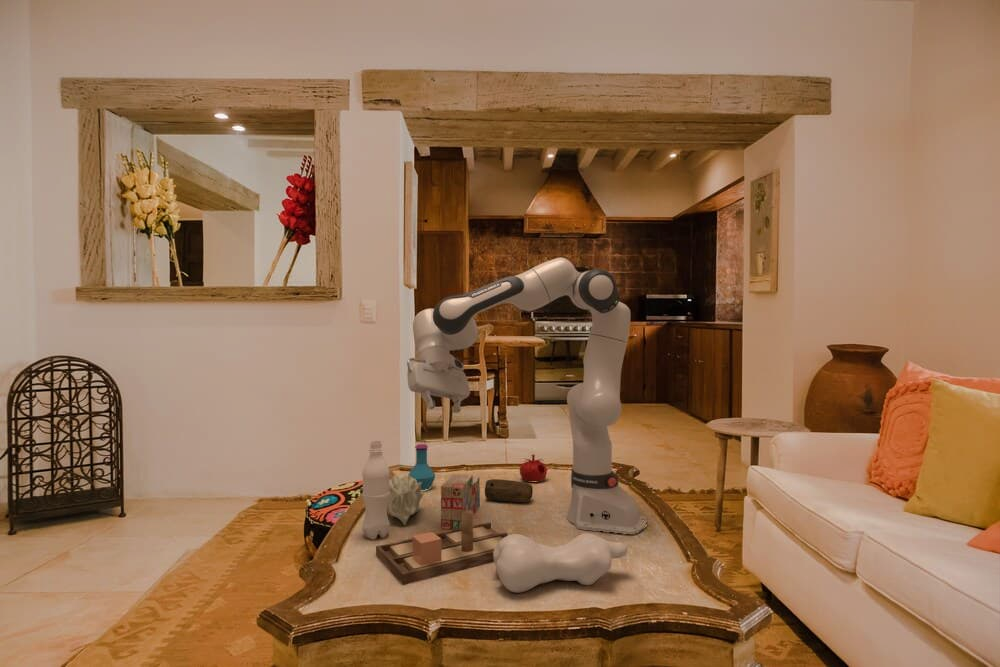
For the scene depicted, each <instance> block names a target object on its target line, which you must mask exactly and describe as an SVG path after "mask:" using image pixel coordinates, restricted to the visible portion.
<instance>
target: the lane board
mask: <svg viewBox="0 0 1000 667" xmlns="http://www.w3.org/2000/svg"><path fill="white" fill-rule="evenodd" d="M482 526H483V527H484V528H486V529H487V530H489V531H491V532H492V533H494V535H491V536H487V537H482V538H478V539H473V542H478V541H482V540H486V539H491V538H495V537H499V536H500V537H502V538H505V537H506V536H509V535H508V532H506V531H505V532H498V531H497V530H495V529H493V528H492V522H484V523H479V524H475V525H474V524H473V528H478V527H482ZM459 531H461V528H460V529H455V530H445V531H442V532H437V533H436V532H435V534H436V535H437V536H438V537H440V538H441V550H443V549H447V548H452V547H456V546H460V545H461V542H460V543H456V544H451V543H450V542H449V541H447V540H446V534H450V533H454V532H459ZM408 542H413V538H409V539H405V540H404V539H403V540H399V541H395V542H391V543H386V544H380V545H376V546H375V551H376V552H375V555H376V557H377V558H378V559H379V560H380V561H381V562H382V564H384V565H385V567H386V568H387V569H388V570H389V571H390V573H392V574H393V575H394V576H395V578H396V579H397V580H398V581H399V582H400V583H401V584H402V585H407V584H411V583H415V582H420V581H424V580H427V579H432V578H435V577H439V576H443V575H447V574H452V573H454V572H458V571H463V570H466V569H471V568H474V567H478V566H481V565H486V564H491V563H493V562H494V559H493V552H494V550H493V551H489V552H485V553H481V554H477V555H473V556H469V557H465V558H461V559H456V560H452V561H448V562H444V563H440V564H436V565H432V566H428V567H424V568H420V569H415V570H411V571H410V570H409V569H408V568H407V567H406V566H405V565H404V558H408V557H413V553H412V554H407V555H403V556H399V557H395V556H394V555H393V554H392V553H391V552H390V546H394V545H399V544H403V543H408Z"/></svg>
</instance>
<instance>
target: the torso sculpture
mask: <svg viewBox="0 0 1000 667" xmlns="http://www.w3.org/2000/svg"><path fill="white" fill-rule="evenodd" d="M627 553H628V546H627V545H626V544H625V543H624V542H619V541H615V542H614V541H613V542H612V541H608V540H606V539H604V538H602V537H601V536H598V535H595V533H588V532H586V533H585V532H584V533H581V534H579V535H576V537H574V538H573V539H572V540H570V541H569V542H567V543H564V544H562V545H559V546H549V545H546V544H542V543H539V542H537V541H535V540H534V539H532V538H530V537H528V536H526V535H522V534H519V533H514V534H509V535H508V536H506V537H505V538H503V539H502V540H500V541H499V543H498V544H497V545H496V547H495V549H494V552H493V559H494V564H495V569H496V573H497V576H498V579H500V581H501V583H502V585H503V587H505V588H506V589H507V590H508V591H510V592H512V593H517V594H519V593H524V592H528V591H529V590H531V589H533V588H534V587H537V585H541V584H545V583H549V582H552V581H556V580H559V581H566V582H571V581H573V582H575V581H576V582H578V583H579V584H580V585H583V586H591V585H593V584H594V583H596V581H597V580H599V579H600V578H602V576H603V575H604V574H606V573H607V572H608V571H609V570H610V569H611V567H612V560H613V559H621V558H623V557H624V556H626V555H627Z"/></svg>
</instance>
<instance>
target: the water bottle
mask: <svg viewBox="0 0 1000 667" xmlns="http://www.w3.org/2000/svg"><path fill="white" fill-rule="evenodd" d="M369 446H370V447H369V450H368V452H369V456H368V459H367V461H366V462H365V465H364V466H363V469H362V472H361V473H362V474H361V475H362V495H361V497H362V500H363V501H364V502H363V503H364V506H365V513H364V518H363V521H362V522H363V523H362V525H361V526H362V532H363V535H364V537H365V538H368V539H370V540H377V537H378V535H379V537H380V538H381V539H383V538H385V537H386V536H387V535H388V533H389V530H390V526H391V523H390V520H389V517H388V511H387V504H388V500H389V497H390V491H389V480H390V474H391V472H390V468H389V466H388V463H387V462H386V459H385V458H384V456H383V451H384V450H383V442H382V441H381V440H380V441H379V440H375V441H373V440H372V441H370V445H369Z"/></svg>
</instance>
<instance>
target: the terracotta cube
mask: <svg viewBox="0 0 1000 667" xmlns="http://www.w3.org/2000/svg"><path fill="white" fill-rule="evenodd" d="M412 539H413V558H414V559H415V560H416V561H417V562H418V563H419V564H420V565H425V564H430V563H434V562H438V561H441V538H440V537H438V536H437V535H436V532H435V533H434V532H433V531H430V532H425V533H422V534H421V533H420V534H415V535H412Z"/></svg>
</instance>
